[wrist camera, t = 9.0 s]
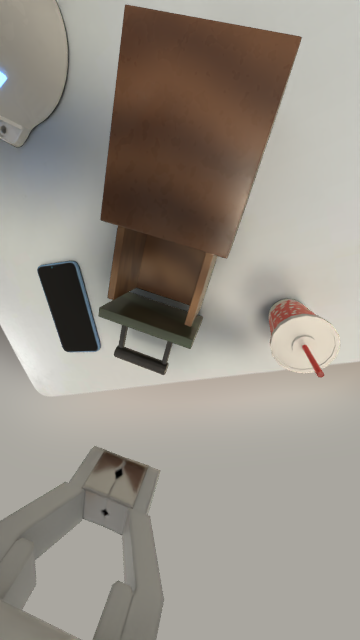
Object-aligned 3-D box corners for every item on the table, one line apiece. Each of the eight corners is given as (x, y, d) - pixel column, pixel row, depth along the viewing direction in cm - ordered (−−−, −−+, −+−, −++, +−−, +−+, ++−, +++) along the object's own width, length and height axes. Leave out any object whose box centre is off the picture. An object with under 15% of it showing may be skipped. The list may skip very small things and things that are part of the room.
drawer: (189, 357, 35) (177, 389, 28) (121, 332, 37) (92, 357, 30) (234, 224, 28) (232, 221, 21) (145, 199, 29) (114, 188, 22)
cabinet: (230, 250, 30) (226, 258, 21) (139, 223, 31) (100, 220, 22) (279, 107, 24) (302, 35, 15) (164, 82, 25) (124, 3, 17)
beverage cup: (299, 343, 32) (339, 418, 19) (255, 327, 32) (265, 390, 20) (322, 302, 29) (386, 356, 16) (274, 286, 30) (299, 326, 17)
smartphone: (63, 353, 41) (34, 266, 36) (66, 350, 42) (38, 265, 37) (100, 352, 39) (74, 260, 34) (103, 350, 40) (78, 259, 35)
